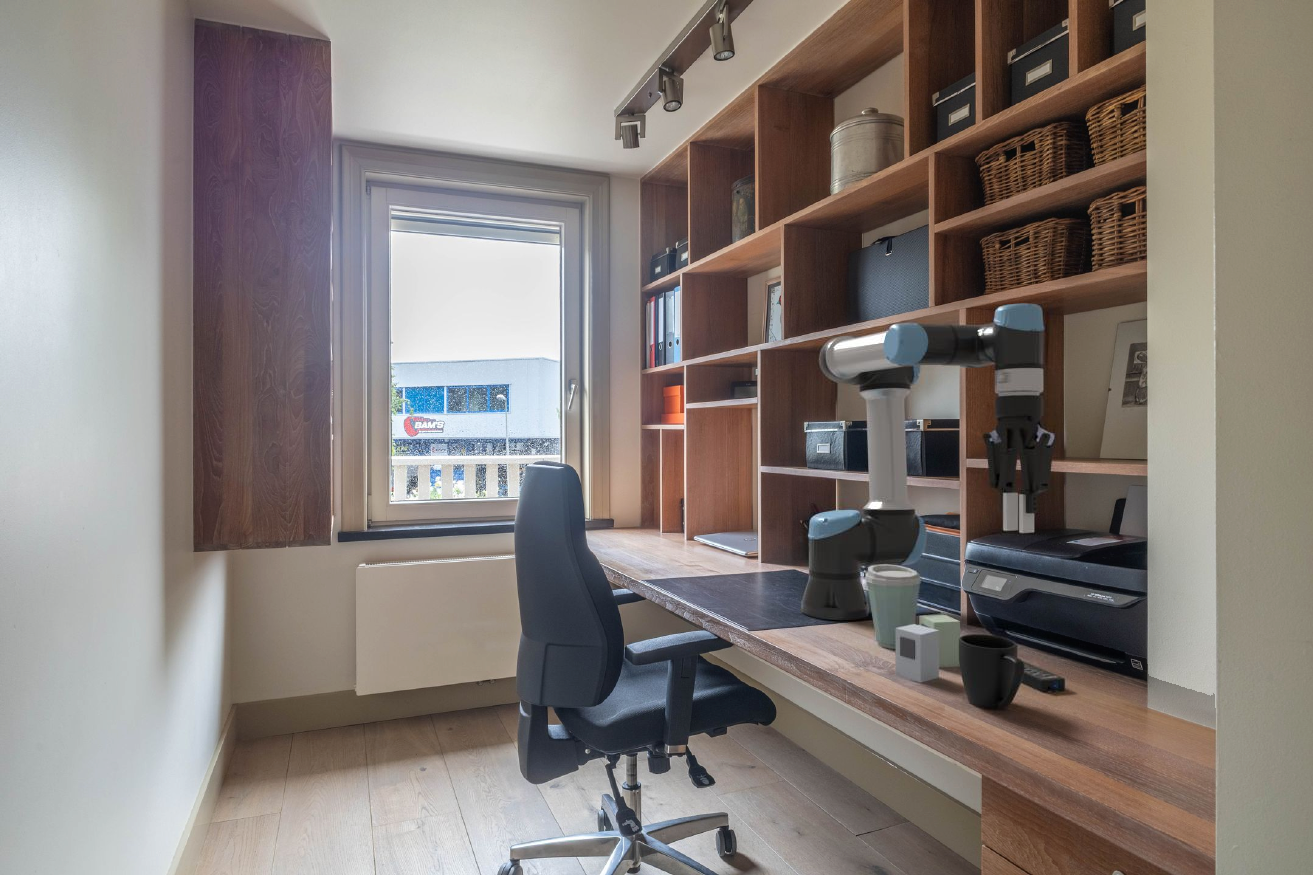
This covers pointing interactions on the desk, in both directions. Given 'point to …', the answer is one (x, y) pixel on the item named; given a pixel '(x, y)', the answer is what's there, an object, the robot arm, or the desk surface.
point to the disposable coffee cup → (892, 600)
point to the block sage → (945, 637)
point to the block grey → (917, 653)
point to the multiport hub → (1042, 679)
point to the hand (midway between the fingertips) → (1018, 530)
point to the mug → (990, 670)
